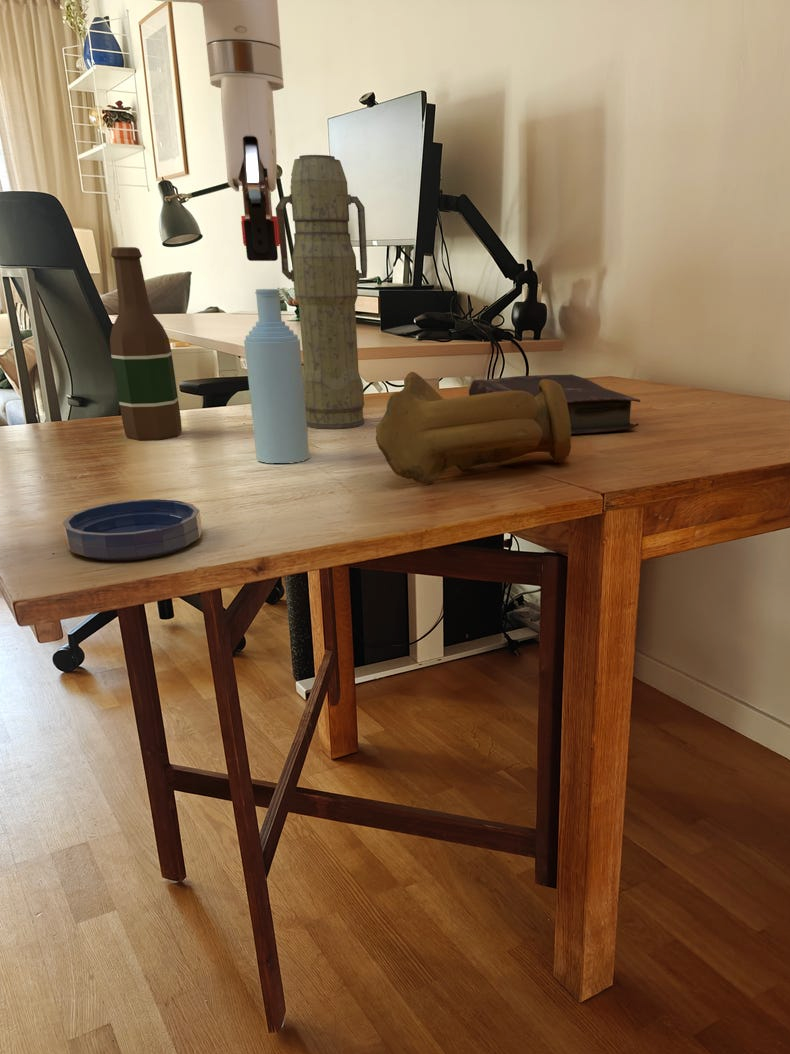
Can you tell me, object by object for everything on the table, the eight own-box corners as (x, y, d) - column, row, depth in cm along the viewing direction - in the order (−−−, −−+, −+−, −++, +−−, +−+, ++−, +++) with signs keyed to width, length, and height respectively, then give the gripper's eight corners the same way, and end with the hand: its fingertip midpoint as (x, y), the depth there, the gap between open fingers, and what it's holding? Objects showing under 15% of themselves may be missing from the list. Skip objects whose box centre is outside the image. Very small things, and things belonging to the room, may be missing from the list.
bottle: (267, 466, 103) (249, 291, 95) (249, 456, 108) (231, 289, 100) (317, 460, 106) (303, 289, 98) (298, 451, 111) (284, 288, 103)
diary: (520, 439, 118) (520, 401, 116) (468, 410, 140) (468, 378, 138) (643, 431, 123) (646, 395, 121) (575, 404, 145) (576, 373, 143)
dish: (80, 572, 69) (74, 542, 68) (59, 537, 77) (54, 510, 76) (217, 549, 74) (213, 521, 73) (183, 519, 83) (180, 493, 82)
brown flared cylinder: (373, 393, 107) (547, 360, 107) (394, 497, 108) (565, 464, 109) (360, 362, 88) (570, 322, 89) (385, 488, 90) (591, 448, 90)
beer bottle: (189, 437, 119) (162, 247, 110) (130, 442, 116) (97, 246, 106) (177, 428, 126) (150, 247, 116) (120, 433, 122) (88, 247, 112)
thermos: (291, 420, 131) (268, 158, 117) (368, 416, 134) (355, 161, 120) (297, 430, 124) (273, 151, 109) (378, 426, 127) (365, 154, 112)
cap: (283, 246, 99) (281, 217, 97) (274, 245, 95) (271, 215, 94) (250, 246, 99) (247, 217, 98) (239, 245, 95) (236, 215, 94)
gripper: (216, 82, 97) (234, 260, 104) (200, 50, 82) (222, 260, 90) (284, 85, 98) (297, 260, 106) (280, 54, 83) (296, 261, 91)
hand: (262, 258), depth 98 cm, fingers closed on cap, 3 cm apart
